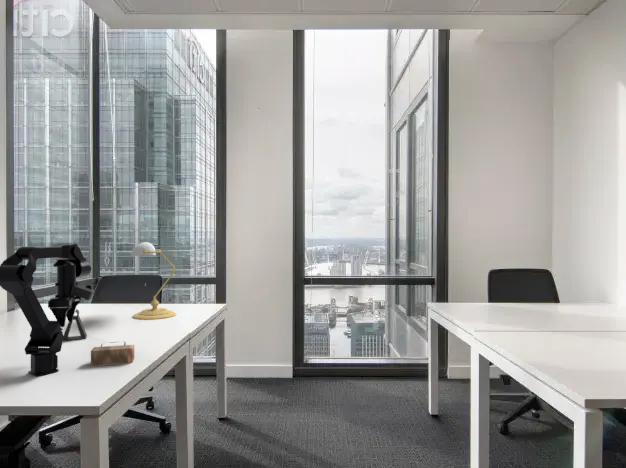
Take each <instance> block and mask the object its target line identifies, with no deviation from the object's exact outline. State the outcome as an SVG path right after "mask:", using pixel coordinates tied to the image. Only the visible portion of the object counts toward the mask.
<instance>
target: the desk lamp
mask: <svg viewBox="0 0 626 468" xmlns="http://www.w3.org/2000/svg"><path fill="white" fill-rule="evenodd" d="M157 254H161V255H162V257H163V258H165V260H166V261H167V262H168V263H169V264H170V265H171V266H172V268H173V270H172V273H171V274H170V276H169V277H168V278H167V279H166V280H165V282H164V283H163V284H162V286H161V287H160V288H159V289H158V291H157V292H156V293H155V295H154V296H153V299H152V300H151V301H150V306H152V308H151V307H150V308H145V309H142V310H141V311H139V312H137V313H134V314H133V315H132V319H135V320H142V321H144V320H145V321H147V320H149V321H150V320H165V319H169V318H173V317H175V316H176V315H177V313H176V312H175V311H172V310H169V309H168V308H164V307H158V306H159V304H160V302H159V301H158V300H157V297H158V294H160V292H161V291H162V289H163V288H164V287H165V286H166V284H167V283H168V282H169V280H170V279H171V278H172V277H173V275H174V274H175V272H176V267H175V265H174V263H172V262H171V261H170V259H168V257H167V256H166V255H165V254H164V253H163V252H162V250H161V249H157V248H155V246H154V244H152V243H151V242H147V241H144V242H141V243H139V244H137V245H136V246H135V247H134V248H133V250H132V251H131V253H130V255H129V256H131V257H132V256H133V257H134V256H135V257H137V256H138V257H140V256H141V257H142V256H143V257H144V256H145V257H148V256H156V255H157ZM146 286H147V283H144V287H146Z"/></svg>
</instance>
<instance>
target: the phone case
mask: <svg viewBox="0 0 626 468" xmlns="http://www.w3.org/2000/svg"><path fill="white" fill-rule="evenodd" d="M122 345H127V344H126V341H113V342H112V341H111V342H103V343H101V345H100V347H106V346H122Z"/></svg>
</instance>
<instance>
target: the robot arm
mask: <svg viewBox="0 0 626 468" xmlns="http://www.w3.org/2000/svg"><path fill="white" fill-rule="evenodd" d="M39 259H53V260H56V262H54V263H53V266H52V267H53V268H54V267H55V268H56V282H55V283H54V286H55V287H56V294H54V297H53V298H51V299H50V300H48V301H47V307H48V309H49V310H51V313H52V314H53V316H54V318H55V319H56V320H49V318H48V316H47V315H46V312H45V310H44V309H43V306H42V305H41V302H40V300H38V298H37V296H36V293H35V291H34V290H33V288H32V286H33V281H34V276H33V275H34V273H35V272H36V270H37V260H39ZM2 261H3V262H1V264H0V288H1V289H3V290H4V291H6V292H8V293H9V294H11V295H12V296H13V298H14V299H15V302H16V303H17V305H18V306H19V308H20V310H21V312H22V313H23V315H24V316H25V319H26V320H27V323H28V325H29V326H30V327H31V330H30V333H29V338H30V339H29V341H28V342H27V344H26V345H25V347H24V353H25V355H30V370H29V371H27V373H28V374H29V375H33V376H34V377H35V376H36V377H39V376H44V375H48V374H52V373H57V372H59V369H58V367H59V366H58V365H59V364H58V362H59V361H58V360H59V359H58V358H59V355H57V353H59V352H61V350H62V346H63V342H64V341H63V336H64V332H63V328H64V327H65V326H66V320H67V321H68V323H69V322H72V320H73V317H74V316H75V313H76V312H75V311H76V308H77V306H78V305H80V303H81V302H82V301H83V300H86V301H90V300H91V299H92V298H93V296H94V294H95V289H94V288H93V285H92V284H89V283H88V284H86V285H85V286H81V285H79V281H78V280H77V278H80V277H81V278H82V277H86V276H88V275H90V273H91V271H92V265H91V264H90V263H89V262H88V261H87V258H86V257H84V255H83V253H82V250H81V249H80V247H79V246H78V243H75V242H58V243H54V244H52V245H50V246H21V247H18V248H17V250H16V251H15V253H13V254H12V255H10V256H8V258H5V259H4V260H2ZM23 261H28V262H27V263H26V265H25V264H21V263H22V262H23ZM73 321H74V320H73ZM72 323H73V322H72Z"/></svg>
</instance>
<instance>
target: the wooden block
mask: <svg viewBox="0 0 626 468" xmlns="http://www.w3.org/2000/svg"><path fill="white" fill-rule="evenodd" d="M133 360H135V344H126V345H122V346H106V347H101V346H95V347H93V348H92V349H91V350H90V366H92V367H95V366H106V365H119V364H121V363H122V364H133V363H132V362H134V361H133ZM122 364H121V365H122Z"/></svg>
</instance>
